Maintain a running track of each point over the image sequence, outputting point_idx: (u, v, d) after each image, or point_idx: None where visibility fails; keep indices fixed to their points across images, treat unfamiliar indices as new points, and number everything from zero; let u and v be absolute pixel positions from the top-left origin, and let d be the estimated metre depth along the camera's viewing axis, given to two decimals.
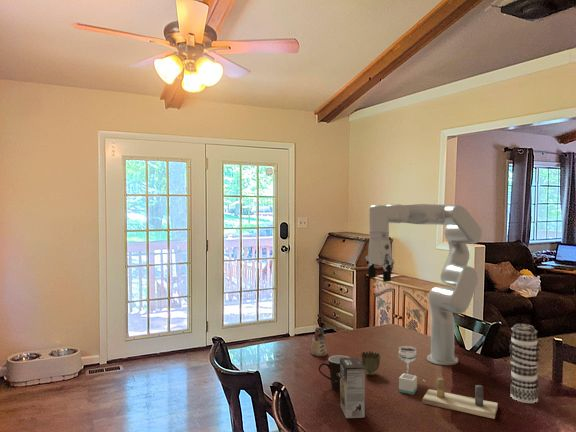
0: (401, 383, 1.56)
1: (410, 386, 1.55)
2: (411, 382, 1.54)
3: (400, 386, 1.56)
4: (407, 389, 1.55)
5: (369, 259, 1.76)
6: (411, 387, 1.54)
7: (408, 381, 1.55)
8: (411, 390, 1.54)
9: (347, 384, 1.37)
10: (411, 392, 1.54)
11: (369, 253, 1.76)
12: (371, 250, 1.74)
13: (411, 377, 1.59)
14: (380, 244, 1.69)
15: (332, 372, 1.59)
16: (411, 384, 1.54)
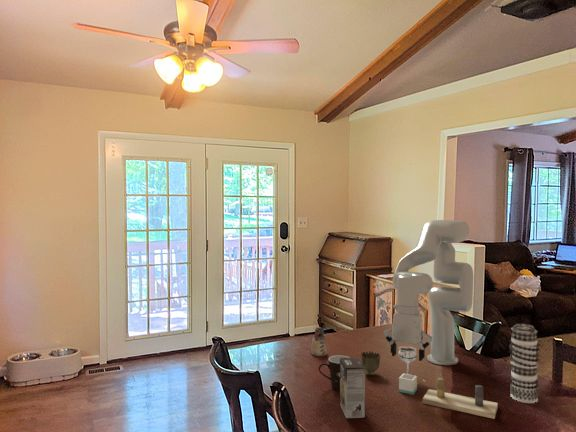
0: (401, 383, 1.56)
1: (410, 386, 1.55)
2: (411, 382, 1.54)
3: (400, 386, 1.56)
4: (407, 389, 1.55)
5: None
6: (411, 387, 1.54)
7: (408, 381, 1.55)
8: (411, 390, 1.54)
9: (347, 384, 1.37)
10: (411, 392, 1.54)
11: None
12: None
13: (411, 377, 1.59)
14: None
15: (332, 372, 1.59)
16: (411, 384, 1.54)
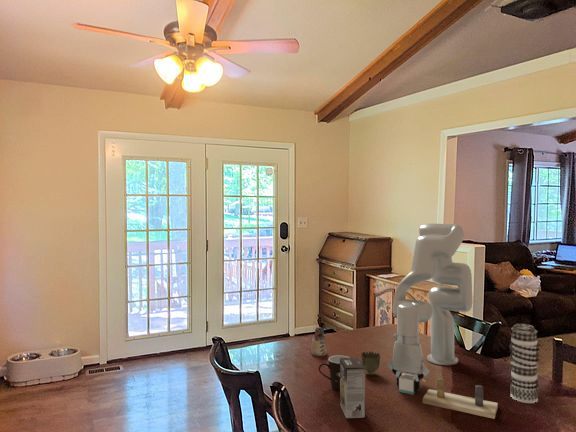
0: (401, 383, 1.56)
1: (410, 386, 1.55)
2: (411, 382, 1.54)
3: (400, 386, 1.56)
4: (407, 389, 1.55)
5: None
6: (411, 387, 1.54)
7: (408, 381, 1.55)
8: (411, 390, 1.54)
9: (347, 384, 1.37)
10: (411, 392, 1.54)
11: None
12: None
13: (411, 377, 1.59)
14: None
15: (332, 372, 1.59)
16: (411, 384, 1.54)
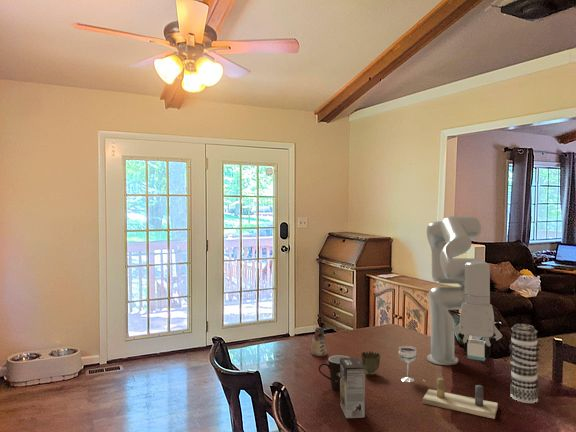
0: (470, 348, 1.41)
1: (481, 351, 1.40)
2: (482, 347, 1.39)
3: (469, 352, 1.41)
4: (477, 355, 1.40)
5: None
6: (482, 352, 1.39)
7: (478, 346, 1.40)
8: (482, 356, 1.39)
9: (347, 384, 1.37)
10: (482, 358, 1.39)
11: None
12: None
13: (480, 342, 1.44)
14: None
15: (332, 372, 1.59)
16: (482, 349, 1.39)
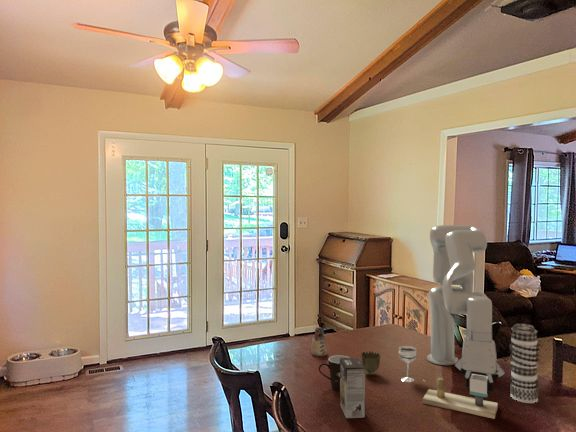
0: (472, 384, 1.41)
1: (483, 388, 1.39)
2: (484, 383, 1.39)
3: (471, 388, 1.41)
4: (479, 391, 1.40)
5: None
6: (484, 389, 1.39)
7: (481, 382, 1.40)
8: (484, 392, 1.39)
9: (347, 384, 1.37)
10: (484, 394, 1.39)
11: None
12: None
13: (482, 378, 1.43)
14: None
15: (332, 372, 1.59)
16: (484, 386, 1.39)
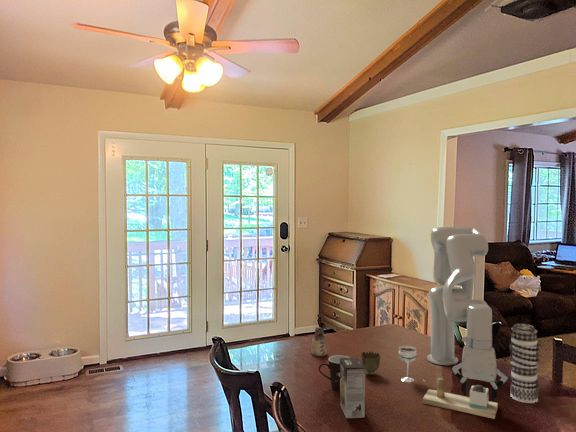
0: (472, 397, 1.41)
1: (483, 400, 1.40)
2: (484, 396, 1.39)
3: (471, 400, 1.41)
4: (479, 403, 1.40)
5: None
6: (484, 401, 1.39)
7: (481, 395, 1.40)
8: (484, 405, 1.39)
9: (347, 384, 1.37)
10: (484, 407, 1.39)
11: None
12: None
13: None
14: None
15: (332, 372, 1.59)
16: (484, 398, 1.39)
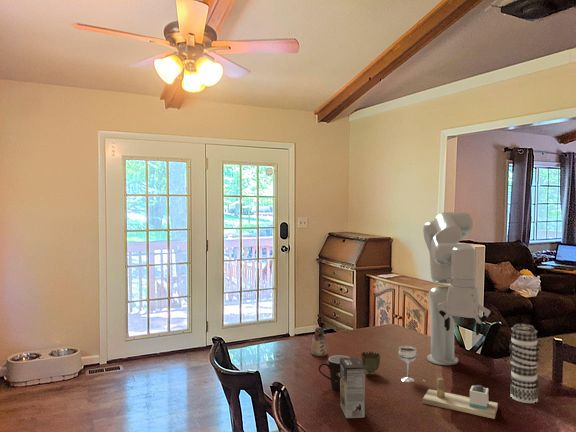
0: (472, 397, 1.41)
1: (483, 400, 1.40)
2: (484, 396, 1.39)
3: (471, 400, 1.41)
4: (479, 403, 1.40)
5: None
6: (484, 401, 1.39)
7: (481, 395, 1.40)
8: (484, 405, 1.39)
9: (347, 384, 1.37)
10: (484, 407, 1.39)
11: None
12: None
13: None
14: None
15: (332, 372, 1.59)
16: (484, 398, 1.39)
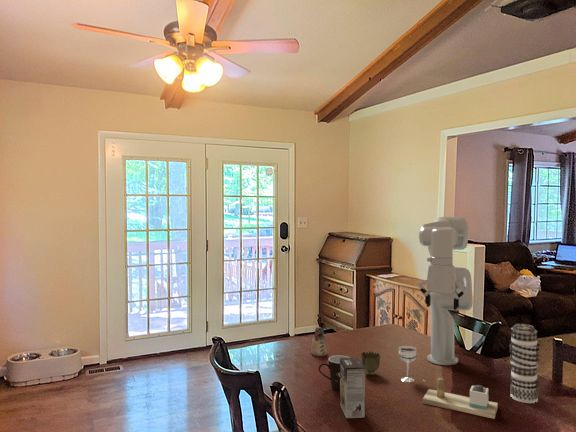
0: (472, 397, 1.41)
1: (483, 400, 1.40)
2: (484, 396, 1.39)
3: (471, 400, 1.41)
4: (479, 403, 1.40)
5: None
6: (484, 401, 1.39)
7: (481, 395, 1.40)
8: (484, 405, 1.39)
9: (347, 384, 1.37)
10: (484, 407, 1.39)
11: None
12: None
13: None
14: None
15: (332, 372, 1.59)
16: (484, 398, 1.39)
